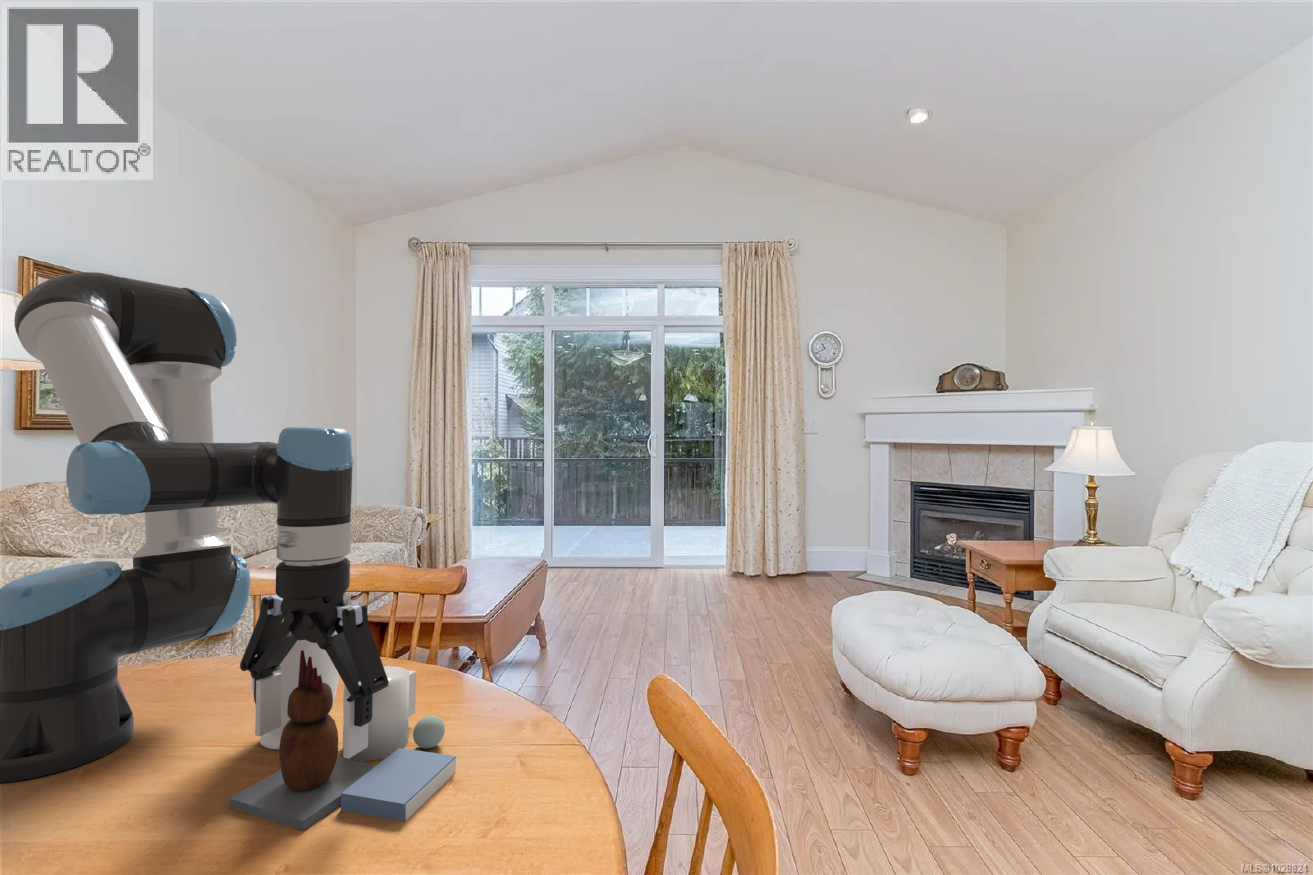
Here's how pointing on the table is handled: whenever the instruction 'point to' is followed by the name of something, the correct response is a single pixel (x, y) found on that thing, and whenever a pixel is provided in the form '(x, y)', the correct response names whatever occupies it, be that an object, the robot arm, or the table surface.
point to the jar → (292, 677)
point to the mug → (388, 714)
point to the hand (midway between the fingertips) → (310, 741)
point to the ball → (428, 731)
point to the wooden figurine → (308, 732)
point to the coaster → (299, 796)
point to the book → (399, 784)
